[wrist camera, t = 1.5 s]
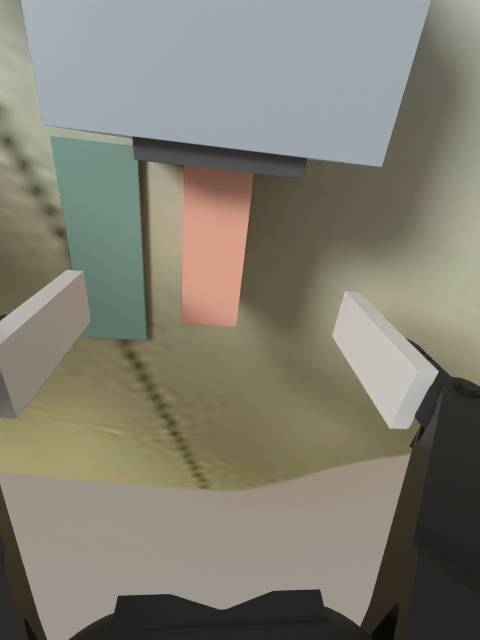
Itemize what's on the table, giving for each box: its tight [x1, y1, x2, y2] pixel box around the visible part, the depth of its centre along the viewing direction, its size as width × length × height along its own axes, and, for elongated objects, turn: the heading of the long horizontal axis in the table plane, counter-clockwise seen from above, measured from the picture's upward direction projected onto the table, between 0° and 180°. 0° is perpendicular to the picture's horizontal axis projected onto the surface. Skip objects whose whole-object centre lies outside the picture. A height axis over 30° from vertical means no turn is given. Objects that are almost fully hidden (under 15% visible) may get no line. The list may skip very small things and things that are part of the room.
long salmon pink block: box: [182, 165, 254, 327], centre depth 20 cm, size 4×16×10 cm, turn 174°
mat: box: [51, 137, 147, 340], centre depth 26 cm, size 6×17×1 cm, turn 174°
